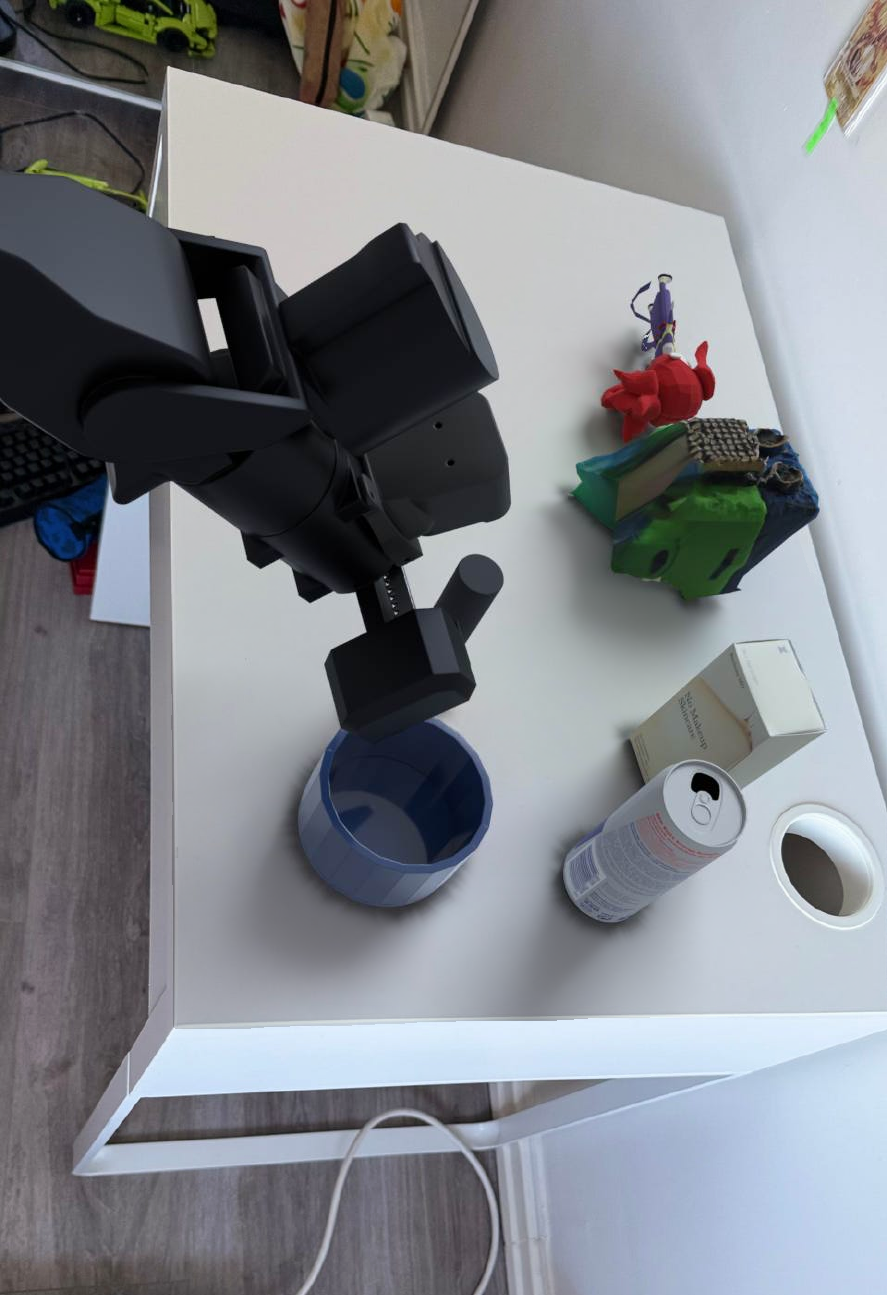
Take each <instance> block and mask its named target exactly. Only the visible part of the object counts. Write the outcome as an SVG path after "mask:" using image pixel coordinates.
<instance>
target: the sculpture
mask: <svg viewBox="0 0 887 1295" xmlns="http://www.w3.org/2000/svg"><path fill="white" fill-rule="evenodd" d="M789 439H790V436H789V435H787V434H782V432H781V431H780V430H778V429H776V428H769V427H767V428H762V427H757V428H750V427H749V424H748V420H745V419H741V418H738V419H736V418H734V417H729V418H727V417H723V418H722V417H716V418H715V417H704V418H703V417H697V416H694V417H693V418H691V419H688V420H684V419H683V420H681V421H679V422H677V423H675V424H670V425H668V426H659V427H658V428H655V429H654V430H652V432H651V433H649V434H648V435H647V436H646V437H644V438H641V439H639V440H637V441H635V442H633V443H631V444H629V445H627V446H625V447H623V448H621V449H619V450H617V451H615V452H613V453H607V454H602V455H597V456H593V457H590V458H588V459H586V460H583V461H580V462H577V463H575V469H576V475H577V476H578V478H579V480H580V481H581V482H580V483H579V484H578V485H577V487H575V489H574V490H571V491H570V492H569V494H570V495H572V496H573V497H575V498H576V500H577V501H579V503H580V504H581V505H582V506H583V507H584V508H585V509H586V510H587V511H588V512H589V513H590V514H591V515H592V516H593V517H594V518H595V519H596V520H597V521H598V522H600V523H601V524H603V525H604V526H605V527H607V528H608V529H609V530H611V531H612V532H613V538H612V547H611V558H610V564H609V569H610V570H611V571H612V573H614V574H615V575H627V576H629V577H633V578H635V579H638V580H642V581H645V582H651V581H654V582H657V583H661V582H666V583H667V584H668V585H669V586H670V587H671V588H674V589H676V590H678V591H679V593H680V594H681V596H682V597H683V598H684V600H686V601H691V600H695V599H701V598H707V597H712V596H713V597H714V596H721V595H727V594H731V593H736V592H740V591H742V589H741V588H739V587H738V586H739V585H740V583H741V581H742V579H743V578H744V577H745V575H747V574H748V573H749V572H750V571H751V570H752V569H754V568H755V567H756V566H757V565H759V564H760V563H761V562H763V560H764V559H766V558H767V557H768V556H769V555H771V553H773V552H774V551H775V550H777V549H778V548H779V547H780V546H781V545H783V543H785V542H786V541H788V539H789V538H791V537H792V536H793V535H794V534H796V533H797V532H799V531H800V530H802V529H803V528H805V526H807V525H808V524H809V523H811V522H813V521H814V520H815V519H817V517H818V515H819V513H820V510H821V509H820V507H819V501H820V498H819V494H818V492H817V491H816V489H815V488H814V485H813V483H812V481H811V479H810V478H809V477H808V475H807V473H806V469H805V468H804V467H803V465H802V464H801V462H800V459H799V456H800V454H799V453H798V452H796V451H795V450H794V448H793V446H792V445H791V443H790V441H789Z"/></svg>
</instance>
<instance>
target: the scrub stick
mask: <svg viewBox="0 0 887 1295" xmlns="http://www.w3.org/2000/svg"><path fill="white" fill-rule="evenodd" d="M504 582H505V578H504V572H503V570H502V568H501V567H500V565H499V564H498V563H497V562H496V561H494V560H493V559H492V558H491V557H488V556H486V555H485V554H480V553H471V554H468V555H465V556H464V557H462V558H461V559H460V560H459V562H458V564H457V566H456V568H455V569H454V571H453V572H452V574H451V576H450V578H449V579H448V581H447V583H446V584H445V586H444V588H443V590H442V592H441V593H440V595H439V597H438V598H437V600H436V602H435V604H434V606H433V607H432V608H439V607H440V608H442V609H443V610H444V611H445V612H446V613H447V614H449V615H450V617H451V618H452V620H453V622H454V621H456V620H457V621H458V624H459V627H460V630H461V633H462V637H463V640H464V643H465V644H466V643H467V642H468V641H469V639H470V637H471V636H472V634H473V632H474V631H475V630H476V629H477V627H478V625H479V624H480V623H481V621H482V619H483V618H484V616H485V615H486V613H487V611H488V610H489V608H490V607H491V605H492V604H493V603H494V601H495V599H496V597H497V596H498V594H499V593H500V592H501V590H502V589H503V587H504V584H505V583H504Z"/></svg>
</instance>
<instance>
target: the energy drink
mask: <svg viewBox="0 0 887 1295" xmlns="http://www.w3.org/2000/svg"><path fill="white" fill-rule="evenodd" d="M748 814H749V813H748V806H747V801H746V799H745V795H744V794H743V792H742V790H740V788H739V786H738V785H737V783H736V782H735V781H734V779H733V778H732V777H731V776H730V775H729V774H728V773H727V772H725V771H724V770H723V769H721V768H720V767H718V766H716V765H714V764H712V763H710V762H707V761H704V760H697V759H694V760H686V761H683V762H680V763H677V764H674V765H670V766H669V767H667V768H665V769H664V770H662V771H661V772H660V773H659V774H658V775H657V776H655V777H654V778H653V779H652V780H651V781H650V782H648V783H647V784H646V785H645V784H644V786H642V787H641V788H640V789H639V790H638V791H637V792H635V794H633V795H632V796H631V797H629V799H628V800H626V801H625V802H624V803H623V804H621V805H620V806H619V807H618V808H617V809H616V810H614V811H613V812H612V813H611V814H610V815H609V816H607V817H606V818H605V819H604V820H603V821H602V822H600V824H599V825H597V826H596V827H595V828H594V829H592V830H591V831H590V832H589V833H587V835H585V836H584V837H583V838H582V839H580V840H579V842H578V843H576V844H575V845H574V846H573V847H572V848H571V849H570V850H569V852H568V853H567V855H566V856H565V859H564V863H563V868H562V869H563V870H562V876H563V883H564V887H565V889H566V890H565V891H567V894H568V896H569V898H570V899H571V901H572V902H573V904H574V905H575V906H576V907H577V908H578V909H579V911H582V912H583V913H584V914H585V915H587V916H588V917H590V918H592V919H594V920H596V921H600V922H603V923H619V922H622V921H624V920H627V919H629V918H630V917H632V916H634V914H636V913H638V912H640V911H641V910H642V909H644V908H645V907H647V906H648V905H650V904H651V903H653V902H654V901H656V900H658V899H659V898H660V897H662V896H663V895H665V894H666V893H668V892H670V891H671V890H672V889H674V888H676V887H677V886H678V885H680V884H681V883H683V882H685V881H686V880H687V879H689V878H690V877H692V876H693V875H695V874H697V873H698V872H699V871H701V870H702V869H704V868H706V867H707V866H709V865H710V864H711V863H712V862H714V861H716V860H717V859H719V858H721V857H722V856H724V855H725V854H726V853H728V852H729V851H731V850H732V849H733V848H734V847H735V845H736V844H737V843H738V841H739V839H740V838H741V836H742V835H743V834H744V832H745V831H746V827H747V823H748V818H749V817H748Z"/></svg>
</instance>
